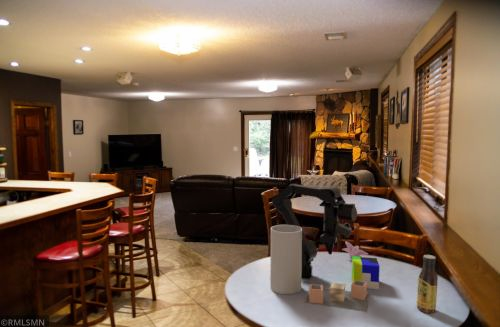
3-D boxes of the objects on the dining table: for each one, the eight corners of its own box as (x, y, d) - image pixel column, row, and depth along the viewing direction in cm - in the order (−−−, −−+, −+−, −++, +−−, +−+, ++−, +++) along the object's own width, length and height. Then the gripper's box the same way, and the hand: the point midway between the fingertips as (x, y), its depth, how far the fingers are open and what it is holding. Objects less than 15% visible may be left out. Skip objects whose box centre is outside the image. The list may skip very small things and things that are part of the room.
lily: (370, 267, 182) (372, 247, 186) (351, 260, 178) (353, 240, 182) (353, 267, 192) (355, 248, 196) (334, 260, 188) (337, 242, 192)
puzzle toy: (378, 290, 153) (379, 266, 152) (353, 288, 155) (353, 264, 154) (375, 280, 163) (376, 258, 162) (351, 278, 165) (352, 256, 164)
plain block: (330, 300, 143) (330, 287, 142) (331, 295, 147) (332, 282, 147) (343, 302, 141) (343, 289, 141) (344, 296, 146) (345, 284, 145)
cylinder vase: (303, 285, 158) (304, 226, 156) (297, 297, 146) (298, 233, 144) (275, 281, 162) (275, 223, 160) (266, 292, 150) (266, 231, 148)
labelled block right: (350, 297, 145) (351, 284, 145) (353, 292, 150) (354, 279, 149) (364, 300, 143) (364, 286, 143) (366, 295, 147) (367, 282, 147)
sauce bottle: (413, 306, 139) (415, 253, 137) (429, 305, 139) (431, 252, 138) (422, 314, 132) (425, 259, 131) (440, 314, 133) (442, 258, 131)
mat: (305, 303, 141) (305, 302, 141) (312, 287, 156) (312, 286, 156) (366, 313, 133) (366, 311, 133) (368, 294, 148) (368, 293, 148)
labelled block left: (309, 302, 141) (309, 288, 140) (309, 296, 146) (309, 283, 145) (322, 303, 140) (323, 289, 140) (322, 297, 145) (322, 284, 145)
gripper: (348, 224, 146) (348, 263, 147) (352, 214, 164) (351, 249, 165) (319, 222, 150) (319, 260, 151) (326, 212, 167) (326, 247, 169)
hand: (330, 254), depth 159 cm, fingers closed
